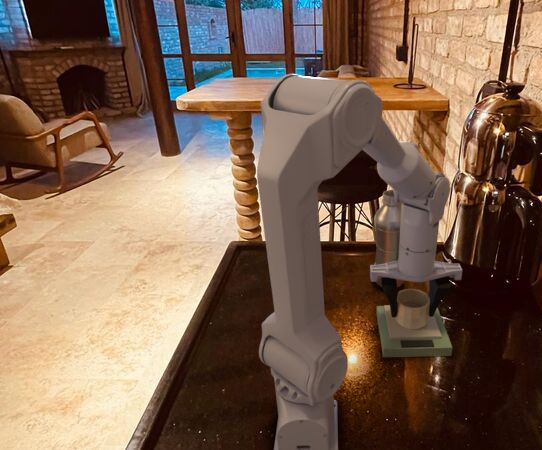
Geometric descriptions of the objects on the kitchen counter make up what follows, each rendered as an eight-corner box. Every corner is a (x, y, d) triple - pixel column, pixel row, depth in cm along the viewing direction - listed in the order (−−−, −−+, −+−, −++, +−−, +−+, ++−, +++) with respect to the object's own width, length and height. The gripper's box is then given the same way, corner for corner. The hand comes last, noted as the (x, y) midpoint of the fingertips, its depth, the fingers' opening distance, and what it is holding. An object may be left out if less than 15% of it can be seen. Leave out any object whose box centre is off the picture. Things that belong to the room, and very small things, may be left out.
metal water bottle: (404, 294, 80) (411, 201, 71) (370, 291, 81) (372, 199, 73) (406, 276, 86) (412, 188, 77) (374, 273, 87) (376, 186, 78)
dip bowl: (431, 330, 67) (433, 308, 65) (396, 331, 67) (398, 309, 65) (424, 309, 72) (426, 288, 70) (392, 309, 72) (393, 289, 70)
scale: (451, 356, 65) (453, 345, 64) (383, 357, 65) (383, 346, 64) (435, 312, 75) (436, 302, 74) (376, 313, 75) (376, 303, 74)
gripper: (457, 230, 67) (448, 298, 73) (369, 232, 67) (367, 299, 73) (470, 252, 61) (459, 324, 67) (373, 254, 60) (371, 326, 67)
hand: (411, 313), depth 69 cm, fingers closed on dip bowl, 6 cm apart
